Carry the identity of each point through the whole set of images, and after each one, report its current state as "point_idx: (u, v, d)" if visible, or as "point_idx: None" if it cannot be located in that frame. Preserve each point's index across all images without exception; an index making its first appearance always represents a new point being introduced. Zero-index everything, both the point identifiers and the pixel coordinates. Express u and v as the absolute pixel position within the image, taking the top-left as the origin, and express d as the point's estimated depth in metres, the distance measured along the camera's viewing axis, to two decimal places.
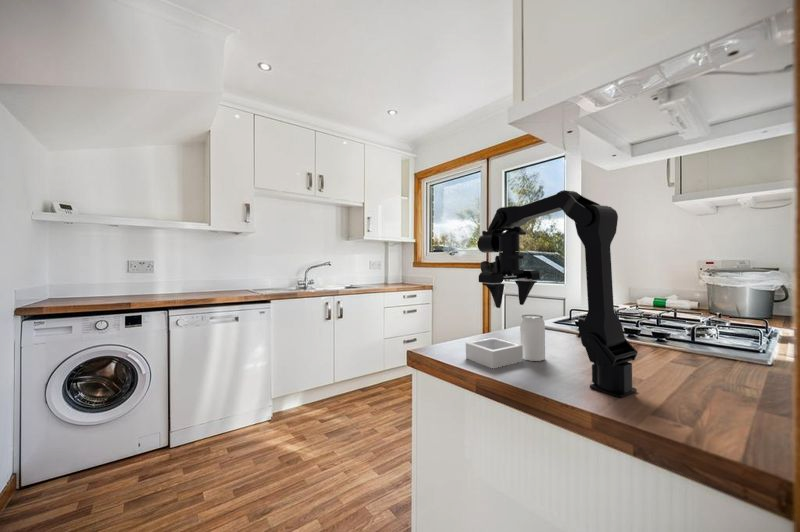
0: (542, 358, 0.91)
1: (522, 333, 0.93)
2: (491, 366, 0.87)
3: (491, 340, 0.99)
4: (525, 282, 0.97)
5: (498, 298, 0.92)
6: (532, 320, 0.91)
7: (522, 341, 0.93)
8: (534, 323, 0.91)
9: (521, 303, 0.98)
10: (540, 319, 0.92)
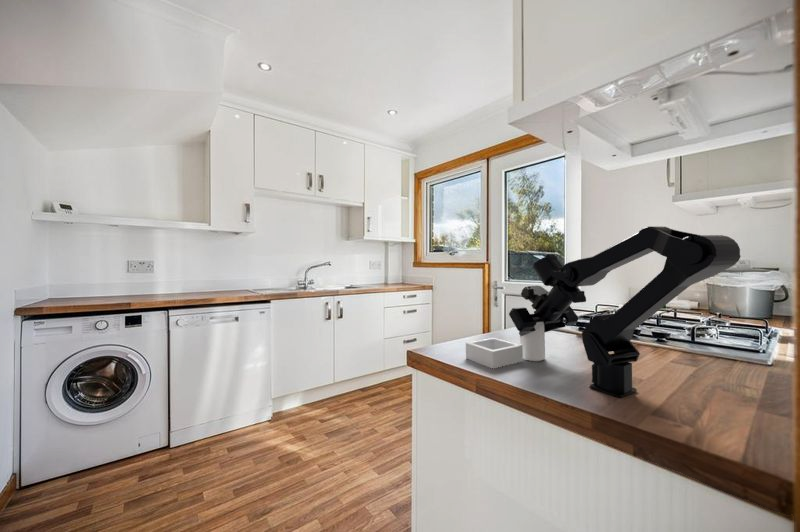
0: (542, 358, 0.91)
1: None
2: (491, 366, 0.87)
3: (491, 340, 0.99)
4: (553, 322, 0.91)
5: (523, 333, 0.91)
6: None
7: (522, 341, 0.93)
8: None
9: None
10: None
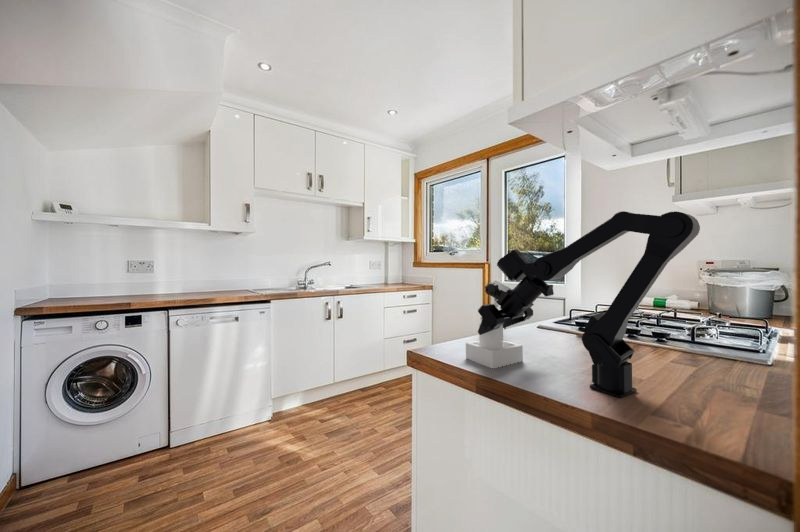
0: None
1: (482, 336, 0.91)
2: (491, 366, 0.87)
3: None
4: None
5: (485, 331, 0.89)
6: None
7: (482, 344, 0.91)
8: None
9: None
10: None
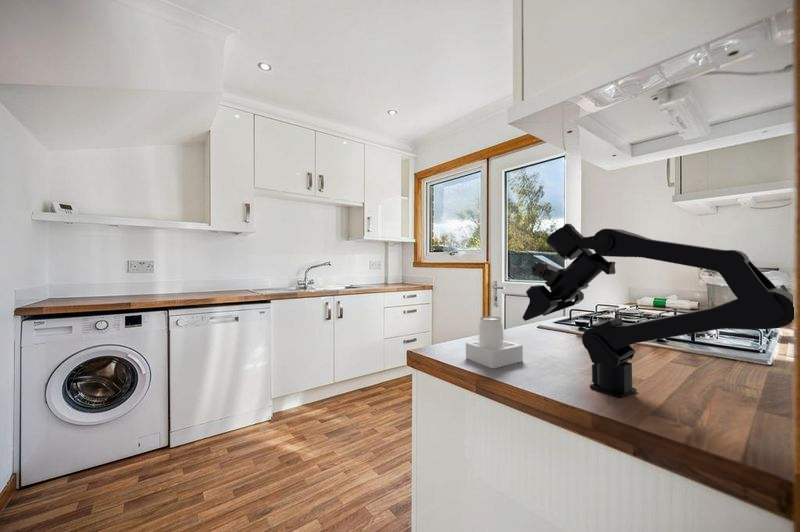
0: None
1: (482, 336, 0.91)
2: (491, 366, 0.87)
3: None
4: None
5: (532, 316, 0.79)
6: (493, 322, 0.90)
7: (482, 344, 0.92)
8: (494, 325, 0.90)
9: (543, 313, 0.87)
10: (499, 321, 0.91)
